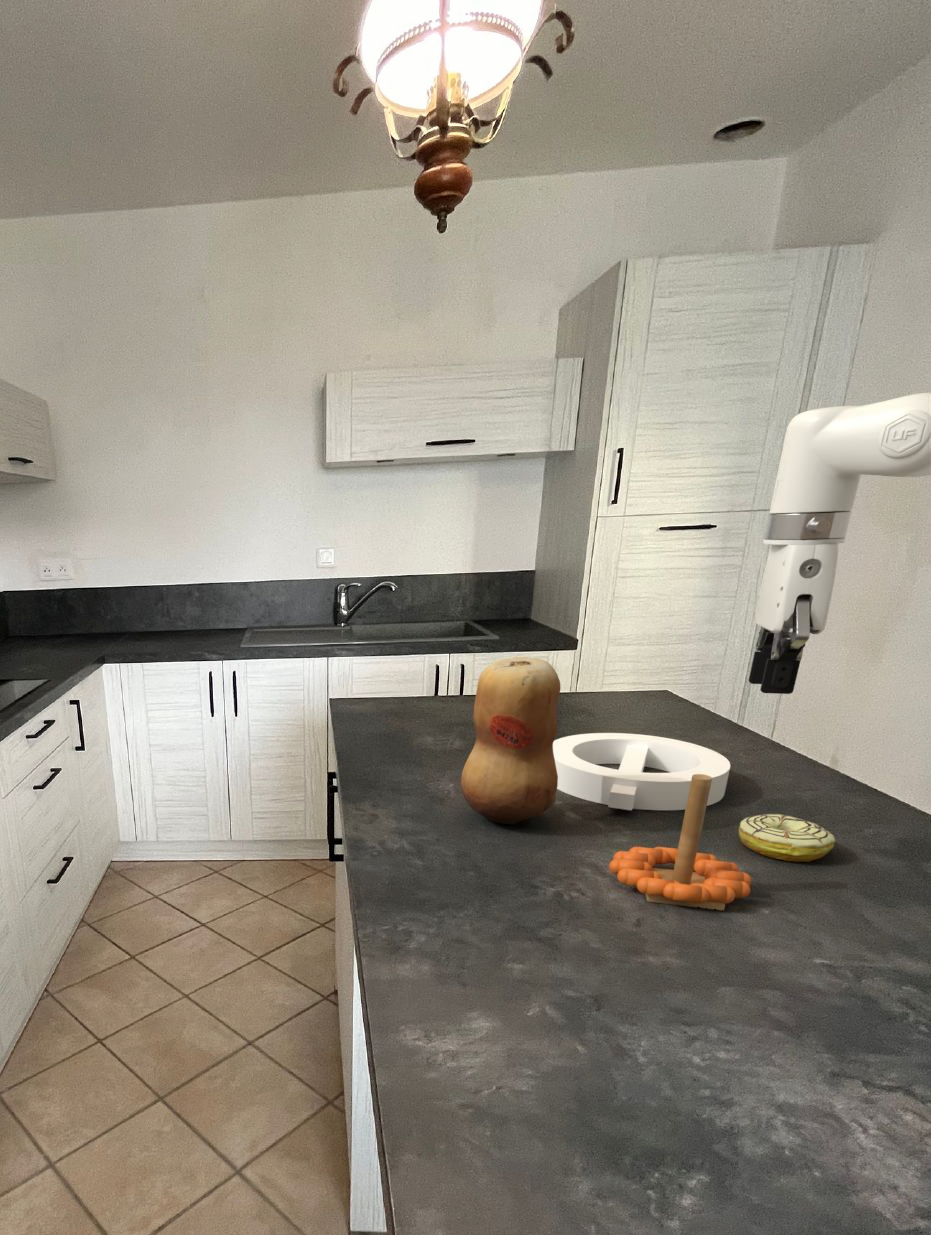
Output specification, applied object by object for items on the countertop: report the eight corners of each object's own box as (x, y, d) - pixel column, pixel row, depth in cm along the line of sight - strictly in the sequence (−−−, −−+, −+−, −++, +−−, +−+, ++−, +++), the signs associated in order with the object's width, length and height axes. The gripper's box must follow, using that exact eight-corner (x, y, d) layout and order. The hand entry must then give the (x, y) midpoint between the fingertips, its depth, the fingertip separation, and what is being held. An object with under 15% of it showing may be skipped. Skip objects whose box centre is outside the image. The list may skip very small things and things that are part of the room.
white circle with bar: (617, 819, 111) (622, 790, 109) (512, 766, 136) (514, 741, 135) (767, 798, 117) (773, 770, 115) (639, 750, 142) (643, 727, 140)
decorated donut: (826, 842, 101) (833, 817, 99) (832, 872, 92) (840, 845, 91) (737, 828, 106) (742, 804, 105) (735, 855, 98) (741, 830, 97)
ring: (736, 866, 93) (740, 852, 92) (763, 913, 82) (767, 898, 81) (603, 852, 98) (606, 839, 97) (612, 895, 87) (615, 880, 86)
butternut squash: (449, 829, 110) (461, 665, 101) (467, 800, 121) (479, 649, 112) (547, 843, 104) (569, 670, 95) (556, 811, 115) (576, 653, 106)
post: (709, 880, 92) (733, 768, 86) (724, 910, 85) (751, 791, 79) (638, 872, 94) (658, 763, 89) (647, 901, 87) (668, 785, 82)
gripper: (876, 530, 74) (831, 705, 80) (819, 527, 88) (784, 675, 95) (789, 533, 76) (752, 702, 83) (747, 529, 91) (718, 674, 98)
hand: (769, 686), depth 89 cm, fingers open, 4 cm apart
